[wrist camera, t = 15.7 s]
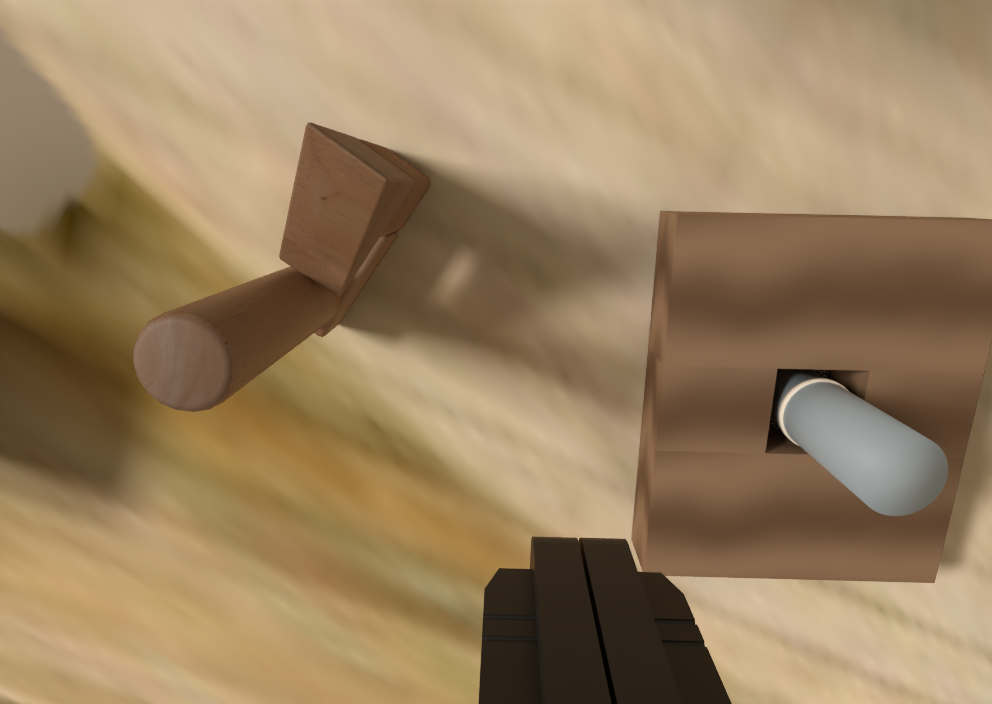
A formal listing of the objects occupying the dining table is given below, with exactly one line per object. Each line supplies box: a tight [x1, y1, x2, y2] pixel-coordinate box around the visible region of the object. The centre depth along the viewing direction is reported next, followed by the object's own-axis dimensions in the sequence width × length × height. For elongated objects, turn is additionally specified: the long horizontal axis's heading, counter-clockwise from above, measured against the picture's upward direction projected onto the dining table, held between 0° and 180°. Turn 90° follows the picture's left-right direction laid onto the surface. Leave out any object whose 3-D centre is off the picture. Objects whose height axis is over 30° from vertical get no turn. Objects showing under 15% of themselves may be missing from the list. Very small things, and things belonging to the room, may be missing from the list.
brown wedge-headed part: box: [133, 123, 430, 412], centre depth 29 cm, size 4×11×18 cm, turn 145°
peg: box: [770, 369, 948, 516], centre depth 34 cm, size 4×4×12 cm
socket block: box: [632, 211, 992, 583], centre depth 37 cm, size 22×18×4 cm
